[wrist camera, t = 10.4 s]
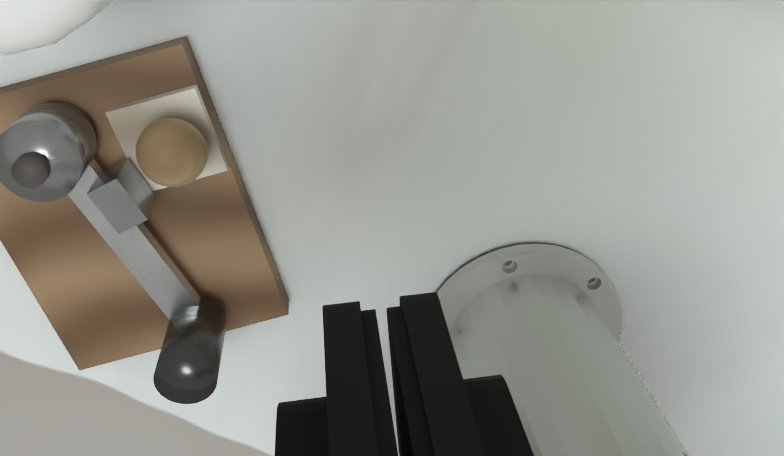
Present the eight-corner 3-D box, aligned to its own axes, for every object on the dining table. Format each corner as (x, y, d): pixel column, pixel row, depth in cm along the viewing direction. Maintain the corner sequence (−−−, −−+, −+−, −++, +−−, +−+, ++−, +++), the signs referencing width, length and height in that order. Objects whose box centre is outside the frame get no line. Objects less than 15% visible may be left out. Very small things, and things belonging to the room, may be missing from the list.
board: (288, 299, 42) (286, 368, 36) (86, 353, 42) (53, 430, 37) (186, 36, 34) (164, 73, 29) (-61, 104, 34) (-131, 154, 29)
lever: (-2, 124, 33) (-49, 167, 28) (73, 84, 32) (37, 122, 28) (185, 352, 40) (171, 414, 36) (249, 322, 40) (242, 382, 35)
